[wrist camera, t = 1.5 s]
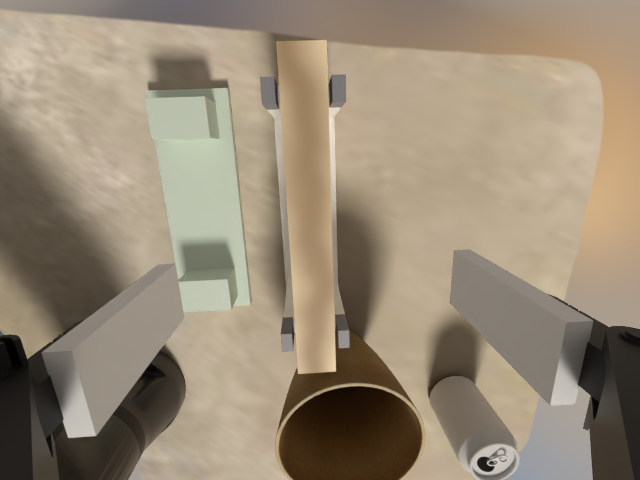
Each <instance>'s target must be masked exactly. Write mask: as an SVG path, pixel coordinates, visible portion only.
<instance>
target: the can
mask: <svg viewBox="0 0 640 480" xmlns="http://www.w3.org/2000/svg"><path fill="white" fill-rule="evenodd" d="M429 399H430V405H431V407H432V409H433V411H434V413H435V415H436V417H437V419H438V421H439V423H440V425H441V427H442V429H443V431H444V433H445V435H446V436H447V438H448V440H449V442H450V444H451V446H452V448H453V450H454V452H455V454H456V456H457V458H458V460H459V462H460V464H461V465H462V467H463V468H464V469H465V470H467V471H468V472H470V473H471V474H472V476H473V477H474V478H476V479H477V480H504V479H505V478H507V477H509V476H510V475H511V474H513V473H514V471H515V470H516V469H517V467H518V464H519V461H520V458H519V453H518V451H517V443H516V440H515V439H514V437H513V435H512V434H511V432H510V431H509V430H508V428H507V427H506V426H505V424H504V423H503V422H502V420H501V419H500V418H499V416H498V415H497V414H496V412H495V411H494V410H493V408H492V407H491V406H490V404H489V403H488V402H487V400H486V399H485V397H484V396H483V395H482V393H481V392H480V391H479V389H478V388H477V387H476V385H475V384H474V383H473V382H472V381H471V380H470V379H468V378H465V377H463V376H451V377H447V378H444V379H442V380H440V381H439V382H438V383H437V384H436V385H435V386H434V388H433V389H432V391H431V394H430V398H429Z"/></svg>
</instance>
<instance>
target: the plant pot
mask: <svg viewBox="0 0 640 480" xmlns="http://www.w3.org/2000/svg"><path fill="white" fill-rule="evenodd" d="M349 345H350V348H339V347H338V341H337V336H336V331H335V352H336V372H322V373H306V374H298V367H297V369H296V372H295V374H294V377H293V379H292V382H291V385H290V388H289V391H288V394H287V397H286V400H285V404H284V408H283V411H282V415H281V419H280V423H279V427H278V432H277V436H276V443H275V452H276V458H277V461H278V464H279V466H280V468H281V470H282V472H283V473H284V474H285V476H286V477H287V478H288V479H289V480H403V479H404V478H405V477H406V476H407V475H408V474H409V473H410V472H411V471H412V470H413V469H414V467H415V466H416V464H417V463H418V461H419V459H420V457H421V455H422V452H423V449H424V444H425V428H424V424H423V421H422V418H421V416H420V414H419V412H418V411H417V409H416V408H415V406H414V404H413V403H412V401H411V400H410V398H409V397H408V395H407V394H406V392H405V391H404V389H403V388H402V386H401V385H400V383H399V382H398V380H397V379H396V378H395V376H394V375H393V373H392V372H391V371H390V370H389V368H388V367H387V366H386V364H385V363H384V362H383V361H382V360H381V358H380V357H379V356H378V355H377V354H376V353H375V352H374V351H373V350H372V349H371V348H370V347H369V346H368V345H367V344H366V343H365V342H364V341H363V340H362V339H361V338H360V337H358V336H357V335H356V334H354V333H353V332H352V331H350V330H349Z"/></svg>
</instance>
